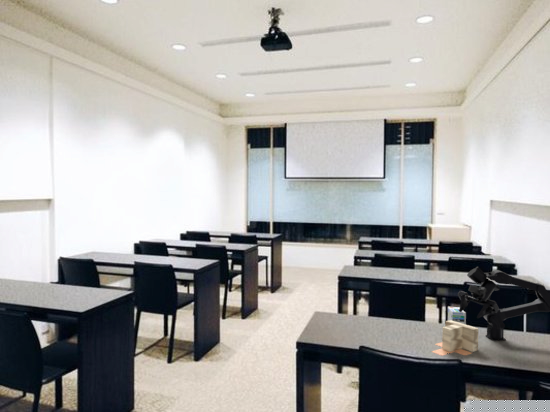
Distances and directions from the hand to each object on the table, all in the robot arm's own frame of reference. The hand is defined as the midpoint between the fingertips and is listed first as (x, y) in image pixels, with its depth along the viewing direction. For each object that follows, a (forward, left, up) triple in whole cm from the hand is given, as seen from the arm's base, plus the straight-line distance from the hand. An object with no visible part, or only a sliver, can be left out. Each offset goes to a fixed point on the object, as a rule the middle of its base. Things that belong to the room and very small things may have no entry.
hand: (468, 314), depth 185 cm
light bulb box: (-4, -18, -14) cm, 23 cm away
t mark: (+16, +9, -13) cm, 23 cm away
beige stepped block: (+11, +7, -13) cm, 18 cm away
